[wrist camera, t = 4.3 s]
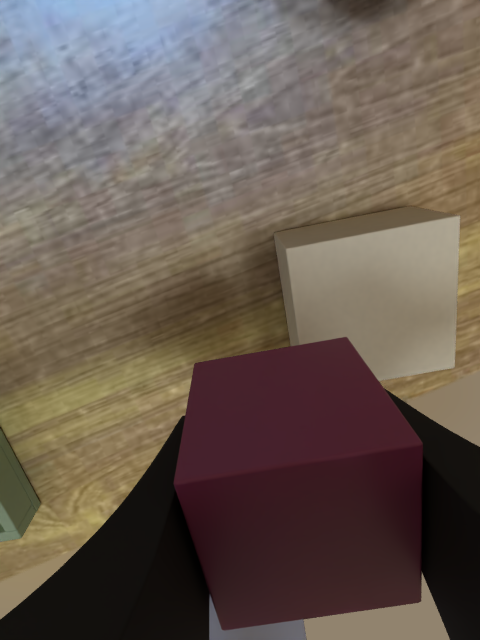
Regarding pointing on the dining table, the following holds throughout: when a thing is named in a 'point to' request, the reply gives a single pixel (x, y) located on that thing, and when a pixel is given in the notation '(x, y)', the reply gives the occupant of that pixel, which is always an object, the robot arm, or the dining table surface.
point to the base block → (376, 287)
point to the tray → (14, 495)
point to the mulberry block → (300, 486)
